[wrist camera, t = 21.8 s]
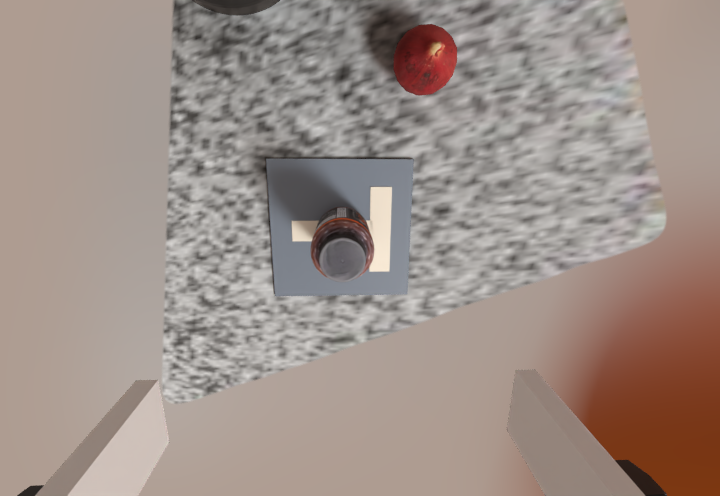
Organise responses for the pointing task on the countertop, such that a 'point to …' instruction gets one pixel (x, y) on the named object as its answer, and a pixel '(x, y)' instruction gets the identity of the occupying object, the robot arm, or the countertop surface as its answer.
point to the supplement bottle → (342, 245)
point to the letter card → (330, 190)
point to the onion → (425, 59)
